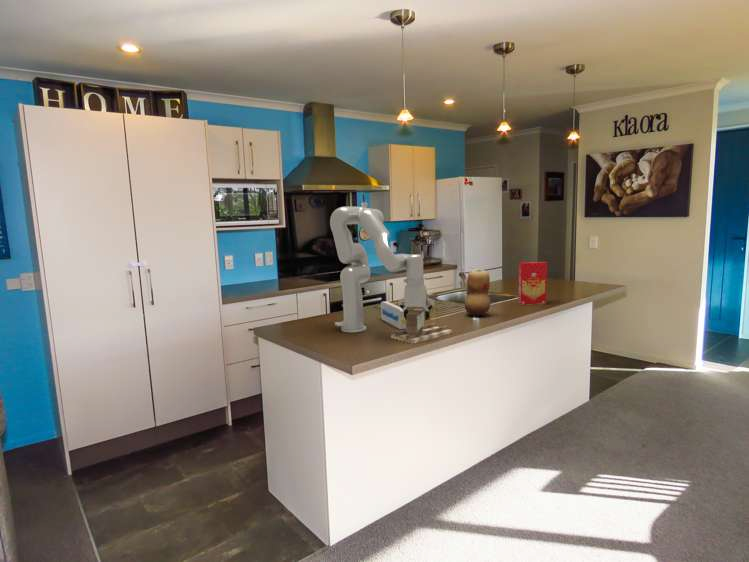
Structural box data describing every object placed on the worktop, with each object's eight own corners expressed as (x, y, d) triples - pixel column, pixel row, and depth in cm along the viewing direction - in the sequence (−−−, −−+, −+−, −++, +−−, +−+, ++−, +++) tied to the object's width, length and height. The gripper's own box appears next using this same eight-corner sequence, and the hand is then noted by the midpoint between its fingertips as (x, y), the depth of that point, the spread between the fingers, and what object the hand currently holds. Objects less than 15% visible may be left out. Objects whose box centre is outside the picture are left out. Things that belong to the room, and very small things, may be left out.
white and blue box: (379, 319, 257) (379, 301, 255) (386, 318, 258) (385, 300, 257) (403, 333, 227) (402, 312, 225) (410, 332, 228) (410, 311, 227)
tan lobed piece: (478, 319, 249) (478, 272, 246) (459, 315, 260) (459, 270, 257) (495, 315, 257) (496, 269, 254) (476, 311, 268) (477, 267, 265)
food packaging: (520, 305, 282) (521, 263, 279) (518, 303, 288) (519, 262, 284) (546, 304, 282) (547, 262, 278) (543, 303, 287) (544, 261, 283)
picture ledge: (412, 343, 207) (411, 337, 207) (390, 337, 218) (390, 331, 218) (452, 333, 223) (452, 326, 223) (431, 328, 234) (431, 322, 234)
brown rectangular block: (416, 334, 210) (416, 314, 209) (405, 334, 212) (405, 314, 211) (425, 327, 223) (424, 308, 222) (414, 326, 225) (414, 308, 224)
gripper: (394, 283, 214) (396, 320, 216) (432, 283, 208) (433, 321, 210) (399, 280, 221) (401, 316, 223) (436, 280, 215) (437, 318, 217)
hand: (416, 319), depth 217 cm, fingers open, 9 cm apart
